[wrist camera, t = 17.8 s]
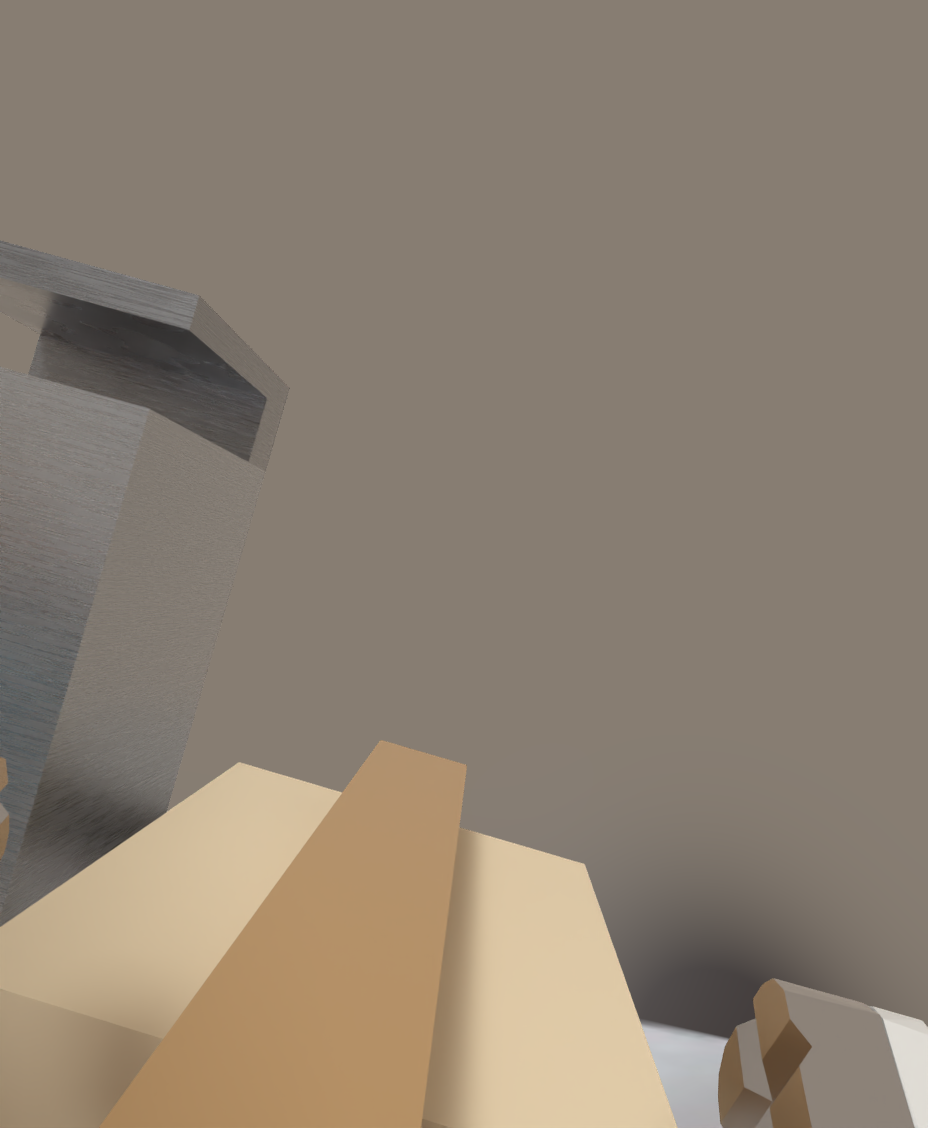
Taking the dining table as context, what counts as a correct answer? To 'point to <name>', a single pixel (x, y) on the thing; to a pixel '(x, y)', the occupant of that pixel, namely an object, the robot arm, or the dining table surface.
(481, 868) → the carton
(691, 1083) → the dining table surface
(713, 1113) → the dining table surface
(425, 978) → the brown wooden bar
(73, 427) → the dispenser stand
